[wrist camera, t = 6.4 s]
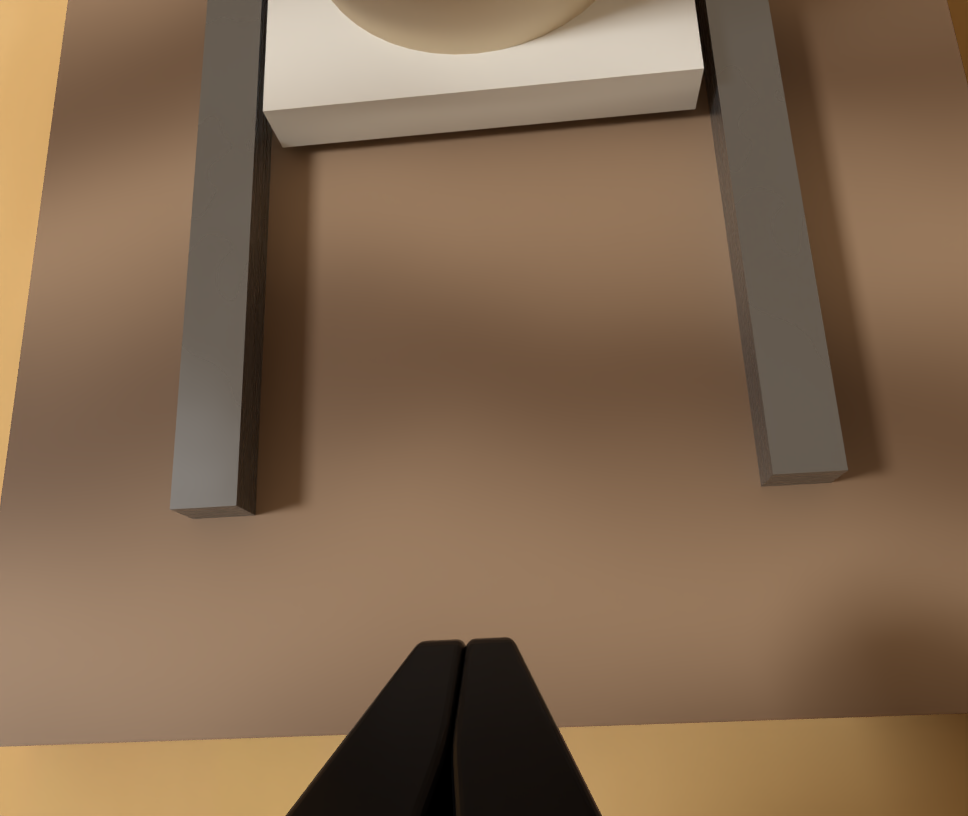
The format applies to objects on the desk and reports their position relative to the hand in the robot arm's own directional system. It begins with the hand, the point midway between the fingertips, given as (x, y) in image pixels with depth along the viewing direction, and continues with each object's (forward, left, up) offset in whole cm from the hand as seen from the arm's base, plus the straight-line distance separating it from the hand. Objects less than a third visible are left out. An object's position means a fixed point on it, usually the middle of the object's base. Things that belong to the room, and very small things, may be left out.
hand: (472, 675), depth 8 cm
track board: (+10, -1, -6) cm, 12 cm away
